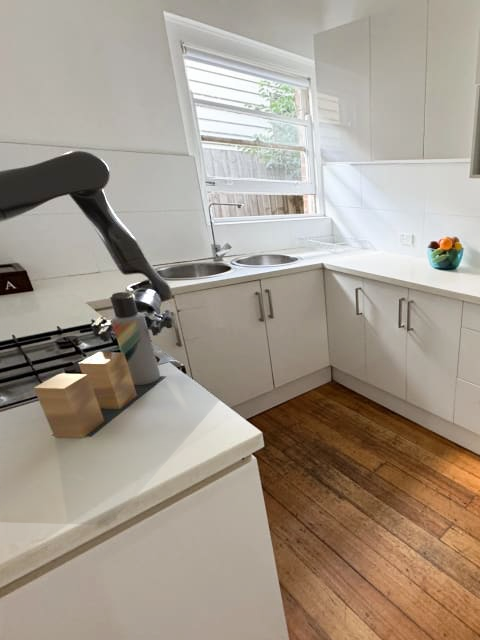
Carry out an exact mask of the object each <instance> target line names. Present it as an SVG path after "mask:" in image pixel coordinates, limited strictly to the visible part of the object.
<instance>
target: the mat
mask: <svg viewBox="0 0 480 640" xmlns="http://www.w3.org/2000/svg"><path fill="white" fill-rule="evenodd" d="M166 378H167V376H166V375H160V378H159V379H158V380H157V381H155V382H153V383H150V384H146V385H134V387H135V391H136V394H137V396H136V397H135V398H134V399H132V400H131V401H130V402H128V403H127V404H126V405H125V406H123V407H122V408H121V409H100V410H101V413H102V415H103V418H104V422H103V423H102V424H100V425H99V426H98V427H97V428H95V429H94V430H93V431H91V432H90V433H89V434H88V435H86V436H85V437H86V438H87V437H90V438H92V437H93V436H94V435H96V434H97V433H98V432H99V431H100V430H102V429H103V428H105V426H107V425H108V424H109V423H111V422H112V421H113V420H114V419H115V418H117V417H118V416H119V415H121V414H122V413H123V412H124V411H125V410H127V409H128V408H129V407H130V406H132V405H133V404H134V403H136V401H138V400H139V399H140V398H142V397H143V396H145V394H147V393H148V392H149V391H150V390H152V389H153V388H154V387H155V386H157V385H158V384H159V383H160V382H162V381H163V380H164V379H166ZM51 436H52V437H55V436H54V434H53V433H52V434H51ZM85 437H84V438H85Z"/></svg>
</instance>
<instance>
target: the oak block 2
mask: <svg viewBox="0 0 480 640" xmlns="http://www.w3.org/2000/svg"><path fill="white" fill-rule="evenodd" d="M78 366H79V369H80V372H81V374H88V376H89V379H90V382H91V385H92V388H93V390H94V393H95V396H96V399H97V401H98V404H99V407H100V409H121V408H122V407H123V406H125V405H126V404H127V403H128V402H130V401H131V400H132V399H134V398H135V397H136V396H137V394H136V391H135V387H134V384H133V381H132V378H131V374H130V371H129V368H128V365H127V361H126V358H125V355H124V353H121V352H118V351H117V352H114V351H113V352H112V351H97V352H95V353H94V354H92V355H91V356H88V357H86V358H85V359H83V360H82V361H79V362H78Z"/></svg>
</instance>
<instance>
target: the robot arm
mask: <svg viewBox="0 0 480 640" xmlns="http://www.w3.org/2000/svg"><path fill="white" fill-rule="evenodd" d="M110 172H111V171H110V169H109V167H108V165H107V163H106V161H104V160H103V159H102V158H101V157H99V156H97V155H96V154H94V153H91V152H88V151H84V150H83V151H82V150H74V151H69V152H66V153H64V154H61V155H58V156H55V157H53V158H50V159H46V160H44V161H41V162H38V163H34V164H31V165H27V166H22V167H16V168H9V169H4V170H0V223H3V222H6V221H8V220H11V219H14V218H16V217H19V216H21V215H24V214H25V213H27V212H30V211H32V210H34V209H35V208H37V207H39V206H42V205H44V204H46V203H47V202H49V201H52V200H54V199H57V198H60V197H64V196H68V195H69V197H70V198H71V200H72V201H74V203H75V204H76V206H77V207H78V208H79V209H80V210H81V212H82V213H83V215H85V217H86V219H87V220H88V222H89V223H90V224H91V226H92V227H93V229H94V231H95V232H96V233H97V234H98V237H99V238H100V240H101V241H102V244H103V245H104V246H105V248H106V250H107V252H108V253H109V255H110V257H111V259H112V261H113V262H114V265H116V268H117V269H118V270H119V272H120V273H121V274H122V275H124V276H130V275H131V276H132V275H143V276H144V277H146V278H147V279H145V280H142V281H138V282H135V283H132V284H130V285H128V286H127V287H126V288H125V290H124V292H126V293H132V294H133V297H134V300H135V304H136V307H137V311H138V312H139V313H142V314H144V317H145V320H146V324H147V327H148V331H149V330H150V331H151V333H152V336H153V337H155V336H158V335H159V334H161V332H162V330H164V328H166V329H172V328H173V324H174V323H173V322H174V321H173V316H172V312H171V310H169V309H166V310H164V311H163V312H162V313H161V306H162V303H165V302H167V301H170V299H171V298H172V296H173V291H172V288H171V286H170V284H169V283H168V282H167V281H166V280H165V279H164V278H163V277H162V276H161V275H160V274H159V273H158V272H157V270H155V268H154V267H153V266H152V265H151V263H150V262H149V260H148V259H147V257H146V255H145V253H144V252H143V250H142V247H141V246H140V245H139V243H138V241H137V240H136V238H135V236H134V234H132V233H131V231H130V230H129V229H128V228H127V227H126V226H125V225H124V223H123V222H122V221H121V219H119V218H118V216H117V215H116V213H115V212H114V211H113V209H112V207H111V206H110V204H109V202H108V200H107V197H106V195H105V192H104V189H105V188H106V187H107V185H108V183H109V181H110V177H111V173H110ZM111 319H112V318H110V319H107V318H106V316H99V317H98V318H97V319H96V320H95V321H94V322H93V323H92V324H91V329H92V332H93V335H94V337H98V338H99V339H100V341H103V342H110V340H111V338H112V336H113V335H115V331H114V328H113V325H112V321H111ZM110 327H111V328H110ZM111 329H112V330H111Z"/></svg>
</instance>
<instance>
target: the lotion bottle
mask: <svg viewBox="0 0 480 640" xmlns="http://www.w3.org/2000/svg"><path fill="white" fill-rule="evenodd" d="M109 300H110V302H111V306H112V309H113V312H114V316H113V317H111V318H110V319H111V321H112V325H113V328H114V331H115V334H114V335H115V338H116V340H117V341H116V342H117V343H118V347H119V350H120V353H124V355H125V358H126V361H127V365H128V368H129V371H130V374H131V378H132V381H133V384H134V385H146V384H150V383H153V382H155V381H157V380H158V379H159V378H160V376H161V372H160V368H159V363H158V360H157V357H156V352H155V349H154V346H153V343H152V339H151V335H150V331H149V329H148V327H147V324H146V320H145V317H144V314H142V313H139V312H138V311H137V307H136V304H135V300H134V297H133V294H132V293H126V292H125V291H124V292H122V291H120V292H114V293H112V295H111V296H110V297H109Z"/></svg>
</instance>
